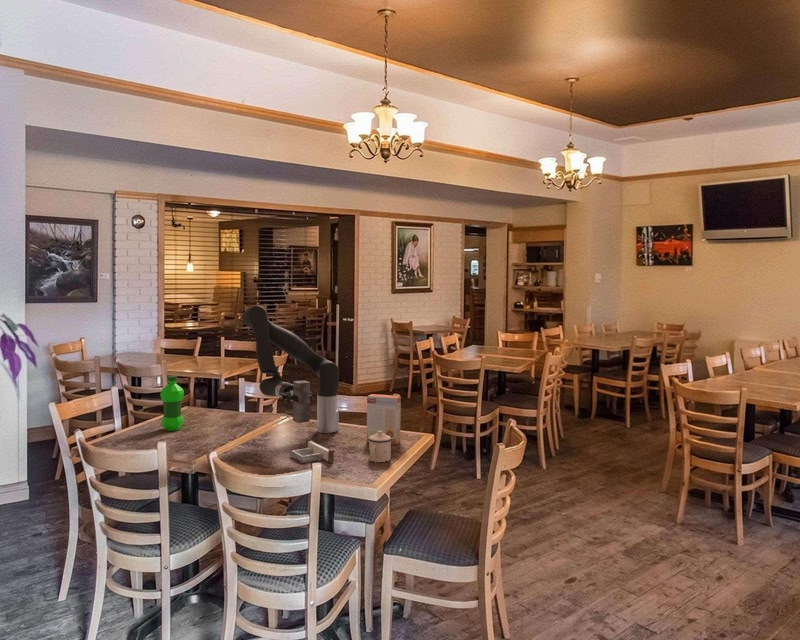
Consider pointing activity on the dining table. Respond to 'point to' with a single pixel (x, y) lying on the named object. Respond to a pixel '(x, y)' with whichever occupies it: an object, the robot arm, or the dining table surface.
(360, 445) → the dining table surface
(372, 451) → the teacup with lid
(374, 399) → the cracker box
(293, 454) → the grey open box
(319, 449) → the gate panel
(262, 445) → the dining table surface
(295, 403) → the post
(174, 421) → the plastic bottle
